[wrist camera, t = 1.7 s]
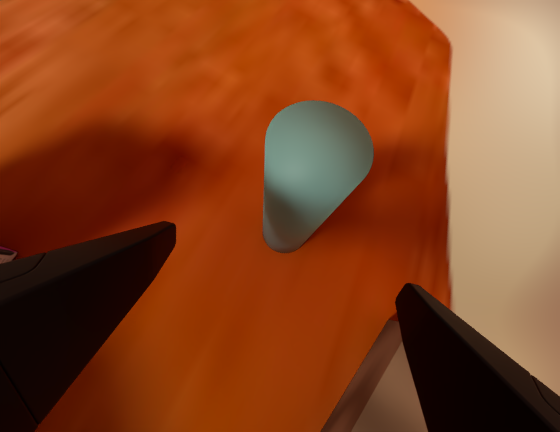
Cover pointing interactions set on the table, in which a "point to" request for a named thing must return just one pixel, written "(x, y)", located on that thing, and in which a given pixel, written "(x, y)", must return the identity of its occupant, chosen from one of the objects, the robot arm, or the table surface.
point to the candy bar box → (6, 255)
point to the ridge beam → (380, 391)
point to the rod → (310, 169)
